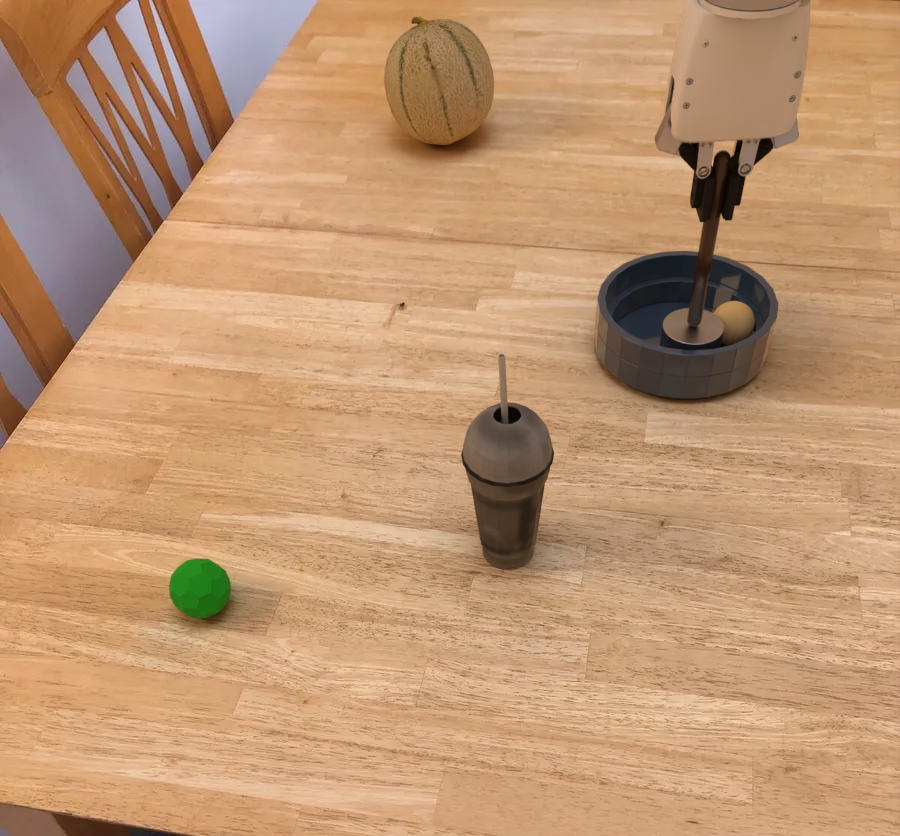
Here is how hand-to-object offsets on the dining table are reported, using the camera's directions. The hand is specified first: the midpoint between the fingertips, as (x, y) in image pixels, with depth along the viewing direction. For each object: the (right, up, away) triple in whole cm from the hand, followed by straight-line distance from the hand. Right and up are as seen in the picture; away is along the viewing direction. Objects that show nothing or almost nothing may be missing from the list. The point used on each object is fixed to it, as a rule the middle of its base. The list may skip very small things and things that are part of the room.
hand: (713, 212), depth 82 cm
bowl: (+1, -8, +15) cm, 17 cm away
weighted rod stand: (+1, -9, +12) cm, 15 cm away
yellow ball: (+5, -6, +12) cm, 15 cm away
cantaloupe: (-24, +29, +46) cm, 60 cm away
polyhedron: (-44, -35, -3) cm, 57 cm away
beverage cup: (-18, -30, -1) cm, 35 cm away
